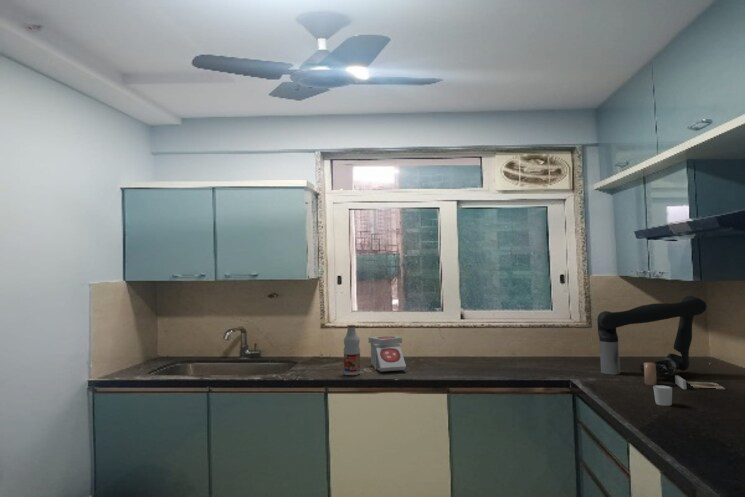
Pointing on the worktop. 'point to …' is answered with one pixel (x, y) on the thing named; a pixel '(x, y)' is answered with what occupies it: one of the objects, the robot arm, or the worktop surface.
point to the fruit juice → (351, 351)
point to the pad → (705, 385)
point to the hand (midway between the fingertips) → (651, 370)
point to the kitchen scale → (387, 353)
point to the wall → (680, 382)
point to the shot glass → (663, 395)
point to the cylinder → (650, 373)
